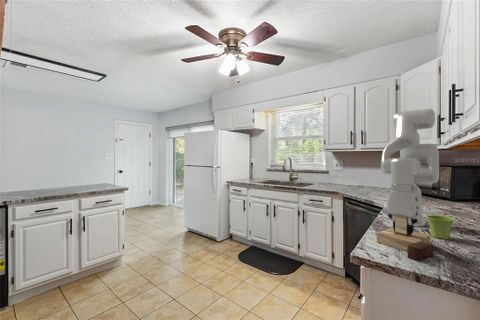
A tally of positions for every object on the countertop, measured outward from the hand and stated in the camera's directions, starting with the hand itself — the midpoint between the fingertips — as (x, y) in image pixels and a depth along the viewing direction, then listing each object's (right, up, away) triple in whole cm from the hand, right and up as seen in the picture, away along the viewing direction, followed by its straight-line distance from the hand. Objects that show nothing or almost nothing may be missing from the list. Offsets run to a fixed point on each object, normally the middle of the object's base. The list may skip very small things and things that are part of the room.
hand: (402, 232), depth 93 cm
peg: (0, -4, 0) cm, 4 cm away
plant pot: (+22, -5, +7) cm, 23 cm away
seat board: (0, -5, 0) cm, 5 cm away
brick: (-2, -5, -12) cm, 14 cm away
